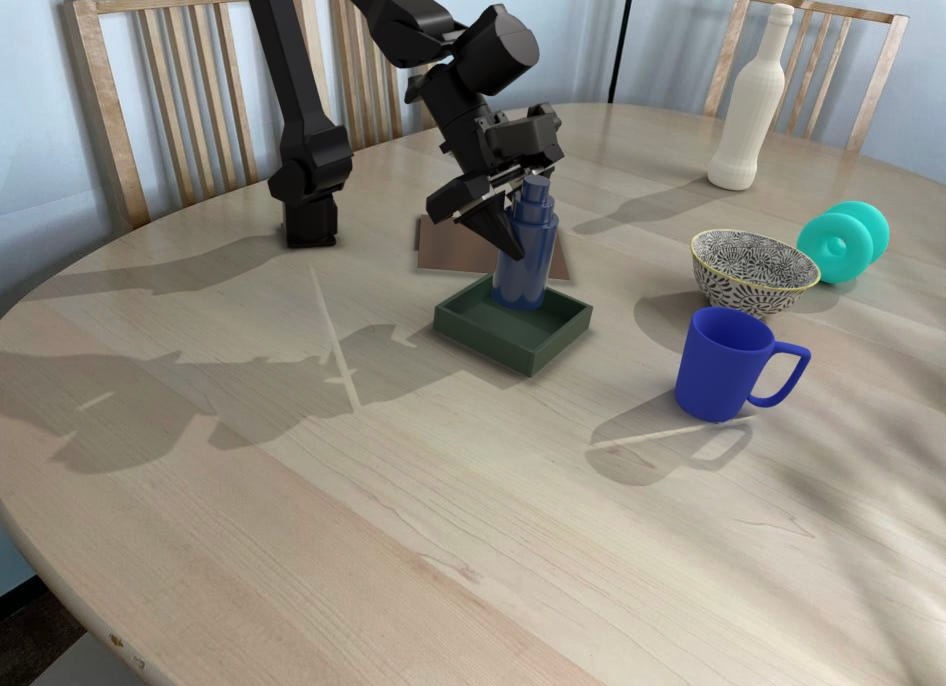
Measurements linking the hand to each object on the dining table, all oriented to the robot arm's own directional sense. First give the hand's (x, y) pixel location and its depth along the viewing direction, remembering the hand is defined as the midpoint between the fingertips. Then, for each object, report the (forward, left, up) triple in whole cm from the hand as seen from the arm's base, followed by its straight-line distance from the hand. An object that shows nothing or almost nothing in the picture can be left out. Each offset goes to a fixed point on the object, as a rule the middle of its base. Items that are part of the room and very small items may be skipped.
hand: (536, 249), depth 80 cm
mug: (+16, -17, -12) cm, 26 cm away
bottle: (+57, +39, -12) cm, 70 cm away
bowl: (+31, +1, -12) cm, 33 cm away
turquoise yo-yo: (+52, +7, -12) cm, 54 cm away
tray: (-1, +1, -11) cm, 11 cm away
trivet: (+4, +21, -11) cm, 24 cm away
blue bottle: (-1, +1, -6) cm, 7 cm away
